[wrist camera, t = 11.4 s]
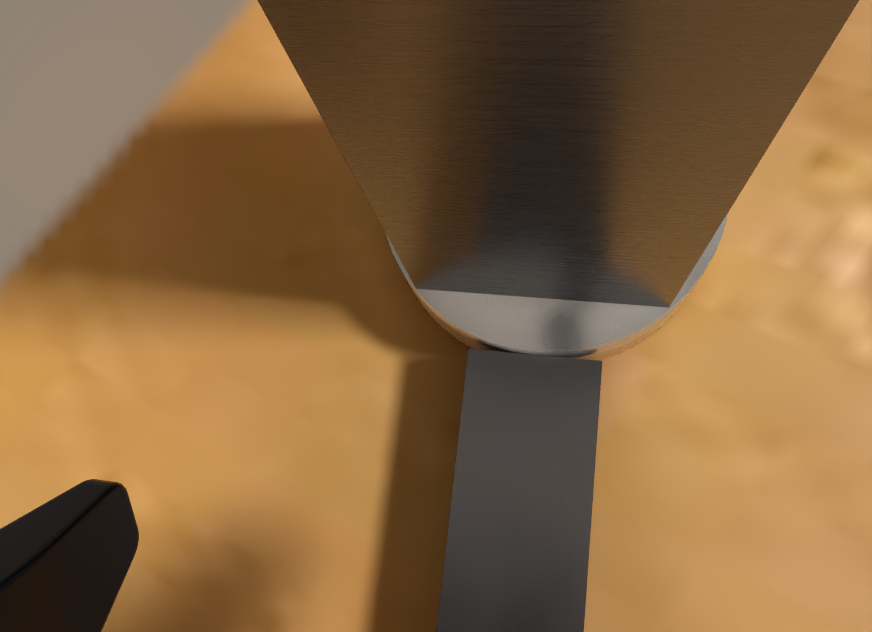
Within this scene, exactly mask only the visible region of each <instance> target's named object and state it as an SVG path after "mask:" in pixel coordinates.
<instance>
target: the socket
mask: <svg viewBox="0 0 872 632" xmlns="http://www.w3.org/2000/svg"><path fill="white" fill-rule="evenodd" d="M858 1H859V0H258V2H259V4H260V6H261V7H262V9H263V11H264V13H265V15H266V16H267V18H268V20H269V22H270V24H271V26H272V27H273V29H274V31H275V33H276V35H277V36H278V38H279V40H280V42H281V44H282V46H283V47H284V49H285V51H286V53H287V55H288V56H289V58H290V60H291V62H292V64H293V66H294V67H295V69H296V71H297V73H298V75H299V76H300V78H301V80H302V82H303V84H304V86H305V87H306V89H307V91H308V93H309V95H310V97H311V98H312V100H313V102H314V104H315V106H316V107H317V109H318V111H319V113H320V115H321V117H322V118H323V120H324V122H325V124H326V126H327V127H328V129H329V131H330V133H331V135H332V137H333V138H334V140H335V142H336V144H337V146H338V147H339V149H340V151H341V153H342V155H343V157H344V158H345V160H346V162H347V164H348V166H349V167H350V169H351V171H352V173H353V175H354V177H355V178H356V180H357V182H358V184H359V186H360V187H361V189H362V191H363V193H364V195H365V197H366V198H367V200H368V202H369V204H370V206H371V208H372V209H373V211H374V213H375V215H376V217H377V218H378V220H379V222H380V224H381V226H382V228H383V229H384V231H385V233H386V235H387V237H388V238H389V240H390V242H391V244H392V246H393V248H394V249H395V251H396V253H397V255H398V257H399V258H400V260H401V262H402V264H403V266H404V268H405V269H406V271H407V273H408V275H409V277H410V278H411V280H412V282H413V284H414V286H415V288H416V289H425V290H439V291H452V292H466V293H479V294H493V295H506V296H520V297H533V298H547V299H560V300H574V301H587V302H601V303H614V304H628V305H641V306H655V307H668V308H669V307H670V306H671V304H672V302H673V301H674V299H675V298H676V296H677V294H678V293H679V291H680V289H681V288H682V286H683V285H684V283H685V281H686V280H687V278H688V277H689V275H690V273H691V272H692V270H693V268H694V267H695V265H696V264H697V262H698V260H699V259H700V257H701V255H702V254H703V252H704V251H705V249H706V247H707V246H708V244H709V242H710V241H711V239H712V238H713V236H714V234H715V233H716V231H717V230H718V228H719V226H720V225H721V223H722V221H723V220H724V218H725V217H726V215H727V213H728V212H729V210H730V208H731V207H732V205H733V204H734V202H735V200H736V199H737V197H738V196H739V194H740V192H741V191H742V189H743V187H744V186H745V184H746V183H747V181H748V179H749V178H750V176H751V174H752V173H753V171H754V170H755V168H756V166H757V165H758V163H759V162H760V160H761V158H762V157H763V155H764V153H765V152H766V150H767V149H768V147H769V145H770V144H771V142H772V140H773V139H774V137H775V136H776V134H777V132H778V131H779V129H780V128H781V126H782V124H783V123H784V121H785V119H786V118H787V116H788V115H789V113H790V111H791V110H792V108H793V106H794V105H795V103H796V102H797V100H798V98H799V97H800V95H801V94H802V92H803V90H804V89H805V87H806V85H807V84H808V82H809V81H810V79H811V77H812V76H813V74H814V72H815V71H816V69H817V68H818V66H819V64H820V63H821V61H822V60H823V58H824V56H825V55H826V53H827V51H828V50H829V48H830V47H831V45H832V43H833V42H834V40H835V38H836V37H837V35H838V34H839V32H840V30H841V29H842V27H843V26H844V24H845V22H846V21H847V19H848V17H849V16H850V14H851V13H852V11H853V9H854V8H855V6H856V4H857V3H858Z"/></svg>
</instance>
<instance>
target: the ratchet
mask: <svg viewBox="0 0 872 632" xmlns="http://www.w3.org/2000/svg"><path fill="white" fill-rule="evenodd" d="M727 215H728V213H727ZM727 215H726V217H725V218H724V220H723V221H722V223H721V225H720V226H719V228H718V230H717V231H716V233H715V234H714V236H713V238H712V239H711V241H710V242H709V244H708V246H707V247H706V249H705V251H704V252H703V254H702V255H701V257H700V259H699V260H698V262H697V264H696V265H695V267H694V268H693V270H692V272H691V273H690V275H689V277H688V278H687V280H686V281H685V283H684V285H683V286H682V288H681V289H680V291H679V293H678V294H677V296H676V298H675V299H674V301H673V302H672V304H671V306H670V307H669V308H668V307H655V306H641V305H628V304H614V303H601V302H587V301H574V300H560V299H547V298H533V297H520V296H506V295H493V294H479V293H466V292H452V291H439V290H425V289H416V288H415V286H414V284H413V282H412V280H411V278H410V277H409V275H408V273H407V271H406V269H405V268H404V266H403V264H402V262H401V260H400V258H399V257H398V255H397V253H396V251H395V249H394V248H393V246H392V244H391V242H390V240H389V238H388V237H387V235H386V237H387V240H388V242H389V245H390V248H391V251H392V253H393V255H394V257H395V259H396V261H397V263H398V265H399V267H400V269H401V271H402V272H403V274H404V276H405V278H406V279H407V281H408V283H409V285H410V287H411V288H412V290H413V292H414V294H415V295H416V297H417V298H418V300H419V301H420V302H421V304H422V305H423V307H424V308H425V309H426V311H427V312H428V313H429V314H430V315H431V316H432V317H433V318H434V319H435V321H436V322H437V323H438V324H439V325H440V326H441V327H442V328H444V329H445V330H446V331H447V332H449V333H450V334H451V335H452V336H454V337H455V338H456V339H458V340H459V341H461V342H463V343H464V344H466V345H468V346H469V347H471V348H472V349H468V357H467V366H466V374H465V383H464V392H463V401H462V410H461V419H460V428H459V437H458V445H457V454H456V463H455V472H454V481H453V490H452V499H451V508H450V517H449V525H448V534H447V543H446V552H445V561H444V570H443V579H442V588H441V596H440V605H439V614H438V623H437V632H584V617H585V603H586V588H587V574H588V559H589V545H590V530H591V516H592V501H593V487H594V472H595V458H596V443H597V428H598V414H599V399H600V385H601V370H602V361H601V360H603V359H606V358H609V357H611V356H614V355H617V354H619V353H621V352H623V351H625V350H627V349H629V348H631V347H633V346H635V345H637V344H639V343H640V342H641V341H643V340H644V339H646V338H647V337H648V336H650V335H651V334H653V333H654V332H656V331H657V330H658V329H659V328H660V327H661V326H662V325H663V324H664V323H665V322H666V321H668V320H669V319H670V318H671V317H672V316H673V314H674V313H675V312H676V311H677V309H678V308H679V307H680V306H681V305H682V303H683V302H684V301H685V300H686V298H687V297H688V295H689V294H690V292H691V291H692V289H693V288H694V286H695V285H696V283H697V282H698V280H699V279H700V277H701V276H702V274H703V272H704V271H705V269H706V267H707V266H708V264H709V262H710V261H711V259H712V257H713V256H714V253H715V251H716V249H717V246H718V244H719V241H720V239H721V237H722V234H723V230H724V226H725V222H726V219H727ZM385 234H386V233H385Z"/></svg>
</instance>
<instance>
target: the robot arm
mask: <svg viewBox="0 0 872 632" xmlns="http://www.w3.org/2000/svg"><path fill="white" fill-rule="evenodd" d="M138 541H139V532H138V527H137V524H136V520H135V517H134V513H133V510H132V506H131V503H130V499H129V496H128V492H127V490H126V488H125V487H124V486H123V485H122V484H120V483H118V482H111V481H104V480H97V479H91V480H86V481H84V482H82V483H80V484H78V485H76V486H75V487H73V488H71V489H69V490H68V491H66V492H64V493H62V494H61V495H59V496H57V497H55V498H54V499H52V500H50V501H48V502H47V503H45V504H43V505H41V506H40V507H38V508H36V509H34V510H33V511H31V512H29V513H27V514H26V515H24V516H22V517H20V518H19V519H17V520H15V521H13V522H12V523H10V524H8V525H6V526H5V527H3V528H1V529H0V632H101V631H102V629H103V627H104V624H105V622H106V620H107V617H108V615H109V613H110V611H111V608H112V606H113V604H114V601H115V599H116V597H117V594H118V592H119V590H120V588H121V585H122V583H123V581H124V578H125V576H126V574H127V572H128V569H129V567H130V565H131V562H132V560H133V558H134V555H135V553H136V550H137V546H138Z"/></svg>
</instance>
